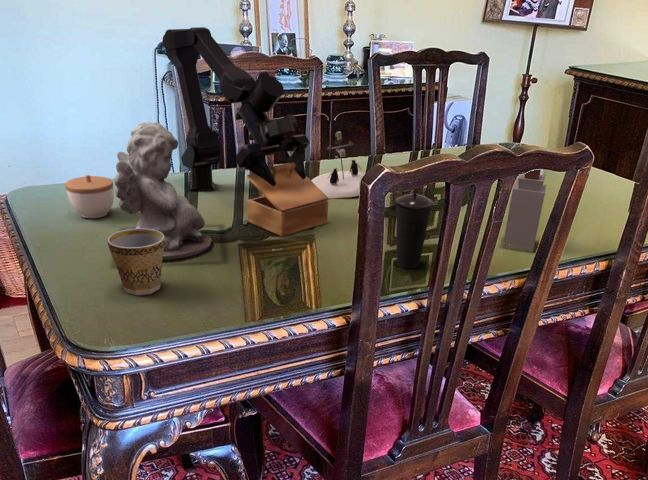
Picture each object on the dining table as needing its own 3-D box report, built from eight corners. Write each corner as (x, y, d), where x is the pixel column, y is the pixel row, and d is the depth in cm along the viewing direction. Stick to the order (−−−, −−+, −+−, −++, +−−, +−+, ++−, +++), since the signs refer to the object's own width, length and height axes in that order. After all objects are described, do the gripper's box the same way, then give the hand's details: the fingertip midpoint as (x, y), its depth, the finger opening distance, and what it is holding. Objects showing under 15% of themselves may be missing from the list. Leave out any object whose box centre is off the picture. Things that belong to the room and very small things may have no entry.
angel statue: (114, 267, 128) (94, 139, 115) (124, 228, 147) (107, 115, 134) (225, 262, 132) (218, 138, 119) (221, 225, 151) (214, 115, 138)
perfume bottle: (534, 242, 149) (550, 164, 140) (532, 252, 143) (549, 172, 134) (505, 237, 151) (519, 161, 141) (502, 247, 145) (516, 168, 136)
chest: (248, 221, 154) (247, 199, 151) (293, 209, 163) (293, 188, 160) (281, 236, 146) (281, 213, 143) (327, 222, 155) (328, 201, 152)
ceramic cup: (171, 296, 118) (166, 245, 113) (114, 301, 115) (106, 249, 110) (167, 268, 128) (161, 221, 123) (115, 273, 126) (107, 224, 121)
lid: (246, 177, 148) (250, 160, 145) (293, 167, 157) (298, 151, 154) (281, 213, 144) (286, 196, 140) (327, 200, 153) (333, 184, 149)
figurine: (357, 172, 190) (355, 116, 181) (391, 190, 177) (391, 130, 168) (297, 187, 182) (292, 129, 173) (329, 206, 169) (325, 145, 160)
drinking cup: (430, 261, 137) (441, 167, 126) (419, 274, 131) (430, 176, 120) (397, 254, 139) (405, 162, 129) (384, 266, 133) (392, 170, 123)
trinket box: (124, 208, 159) (118, 170, 154) (106, 223, 150) (100, 183, 145) (82, 205, 159) (76, 168, 155) (62, 219, 150) (54, 180, 145)
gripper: (240, 106, 138) (274, 169, 137) (305, 98, 149) (336, 156, 148) (221, 137, 146) (252, 196, 146) (283, 127, 158) (312, 182, 157)
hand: (290, 181), depth 149 cm, fingers open, 9 cm apart
